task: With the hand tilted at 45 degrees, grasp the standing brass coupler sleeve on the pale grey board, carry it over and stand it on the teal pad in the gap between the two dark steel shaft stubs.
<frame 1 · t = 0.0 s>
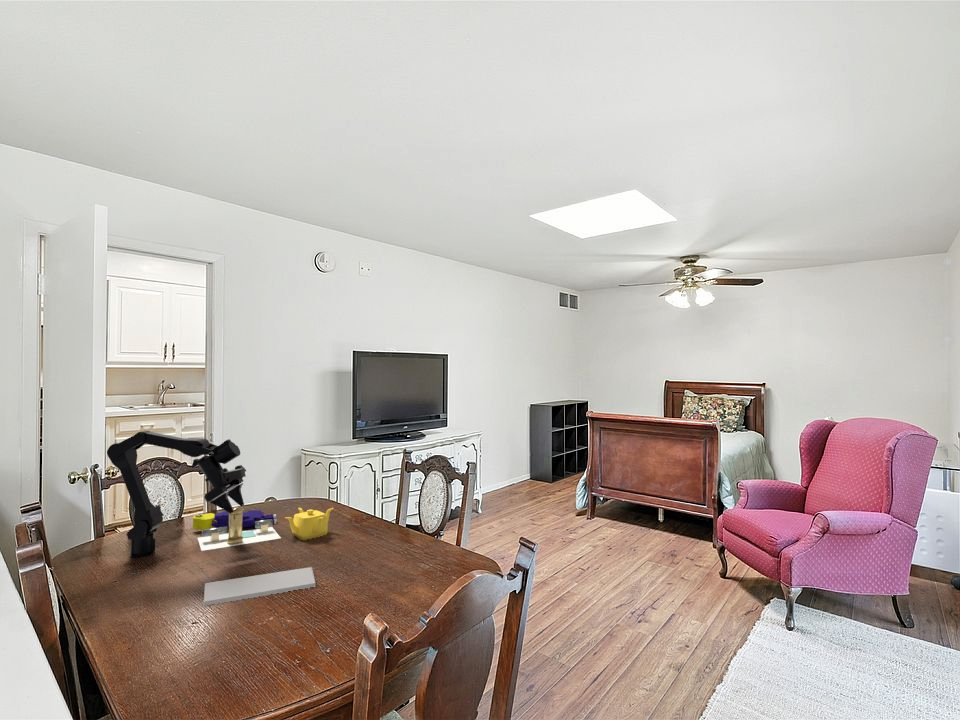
hand: (237, 509, 177), 15 cm above the table, tool tilted 35°, fingers open, 9 cm apart
shafts: (238, 539, 190), resting on board
toy: (235, 530, 202), on the table
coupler: (235, 541, 184), point 1 cm above the table, touching board
teapot: (309, 535, 197), on the table
grey flat slab: (260, 590, 149), on the table
board: (239, 541, 188), on the table
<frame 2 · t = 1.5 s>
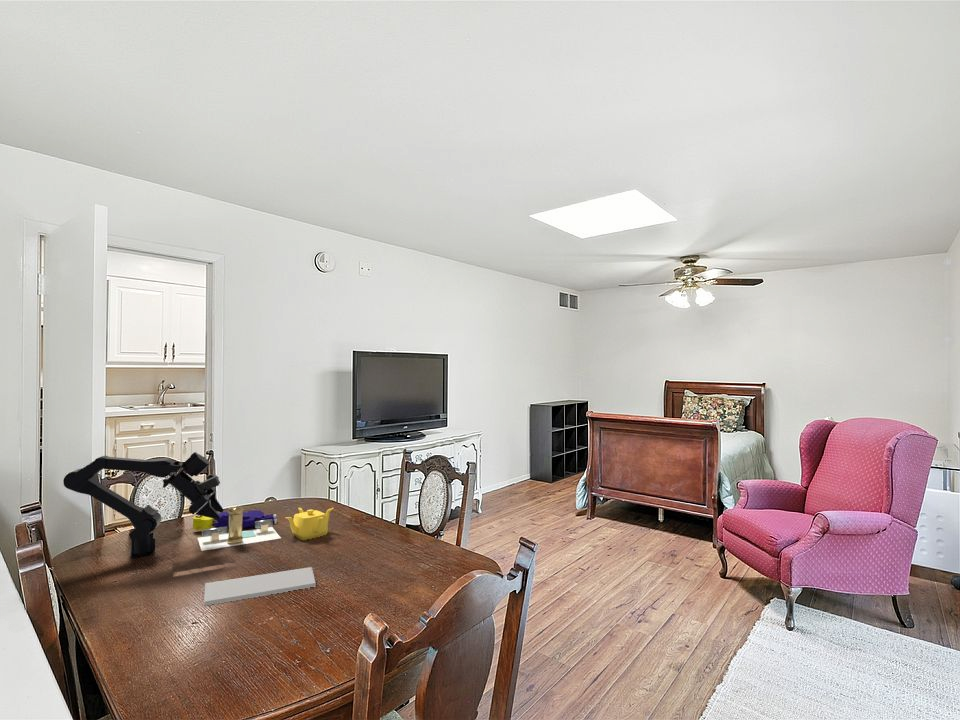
hand: (221, 514, 183), 11 cm above the table, tool tilted 45°, fingers open, 9 cm apart
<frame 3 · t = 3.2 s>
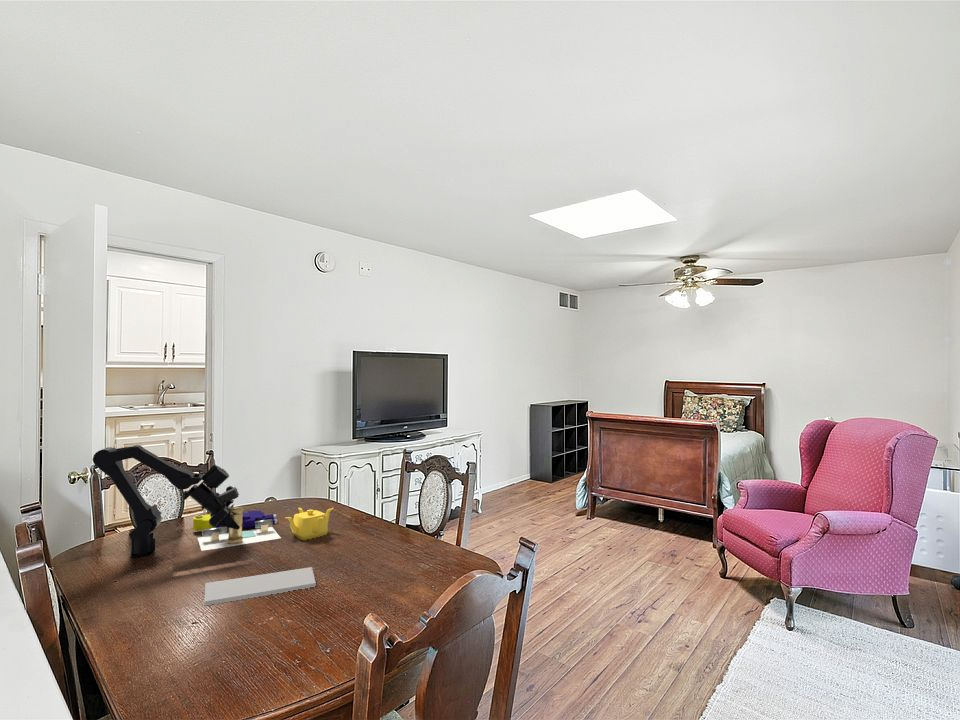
hand: (239, 526, 185), 7 cm above the table, tool tilted 45°, fingers closed on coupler, 4 cm apart
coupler: (235, 541, 184), point 1 cm above the table, touching board, gripper
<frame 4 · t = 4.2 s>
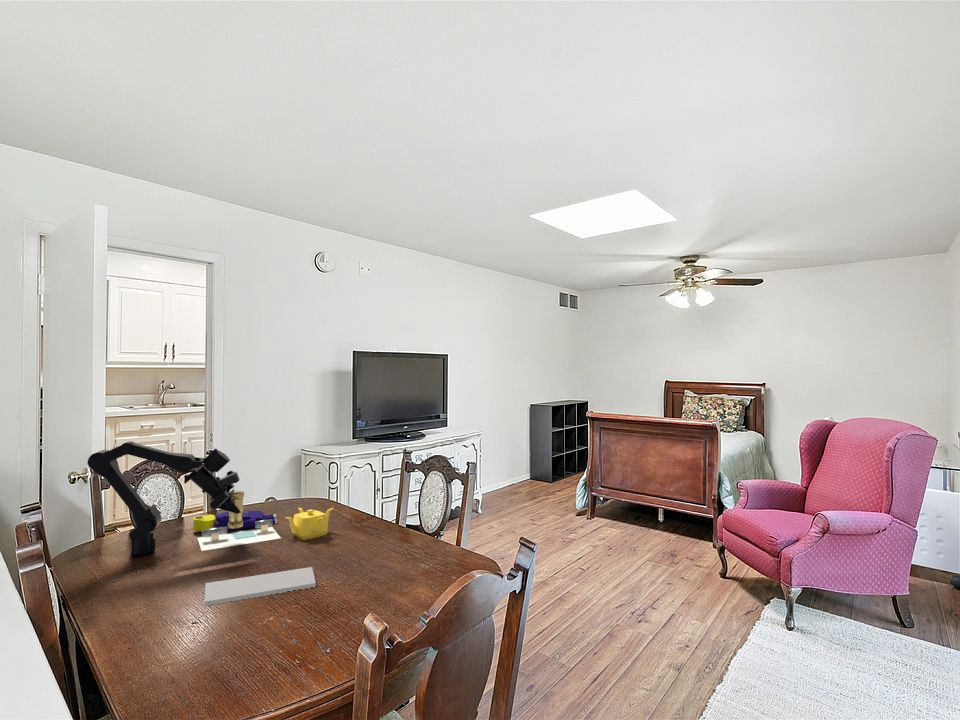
hand: (240, 510, 185), 12 cm above the table, tool tilted 45°, fingers closed on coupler, 4 cm apart
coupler: (235, 526, 184), point 7 cm above the table, touching gripper
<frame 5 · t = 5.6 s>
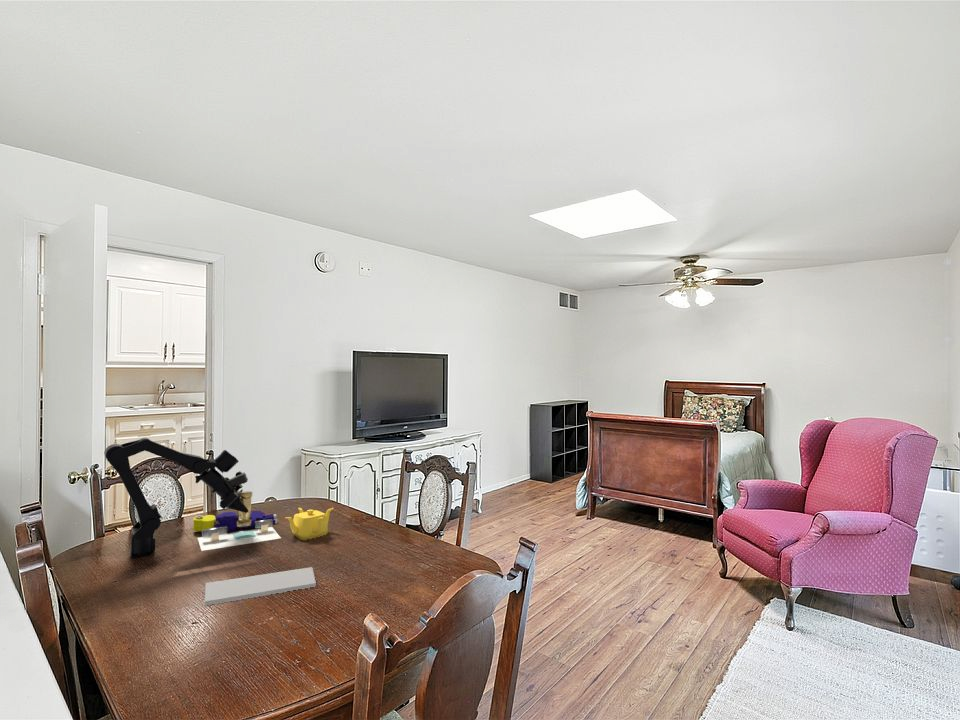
hand: (248, 510, 192), 10 cm above the table, tool tilted 45°, fingers closed on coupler, 4 cm apart
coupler: (243, 524, 192), point 5 cm above the table, touching gripper
when the fingers open (8 cm above the table, at t = 6.4 s): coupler stays where it is, resting on board.
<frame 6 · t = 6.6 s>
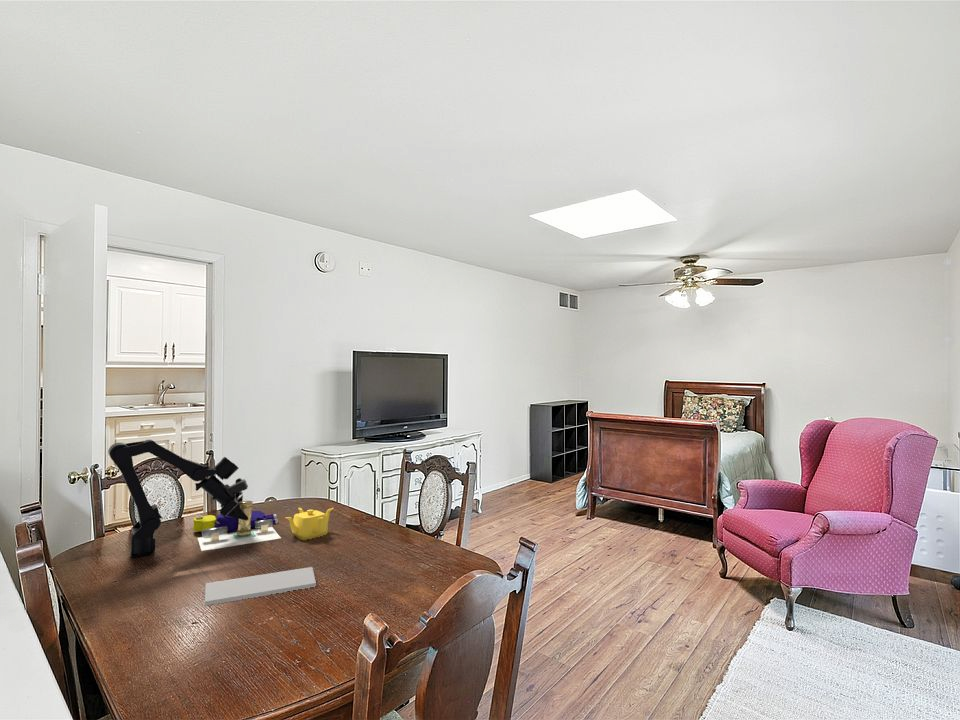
hand: (248, 517, 192), 8 cm above the table, tool tilted 45°, fingers open, 6 cm apart
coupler: (243, 534, 192), point 1 cm above the table, touching board
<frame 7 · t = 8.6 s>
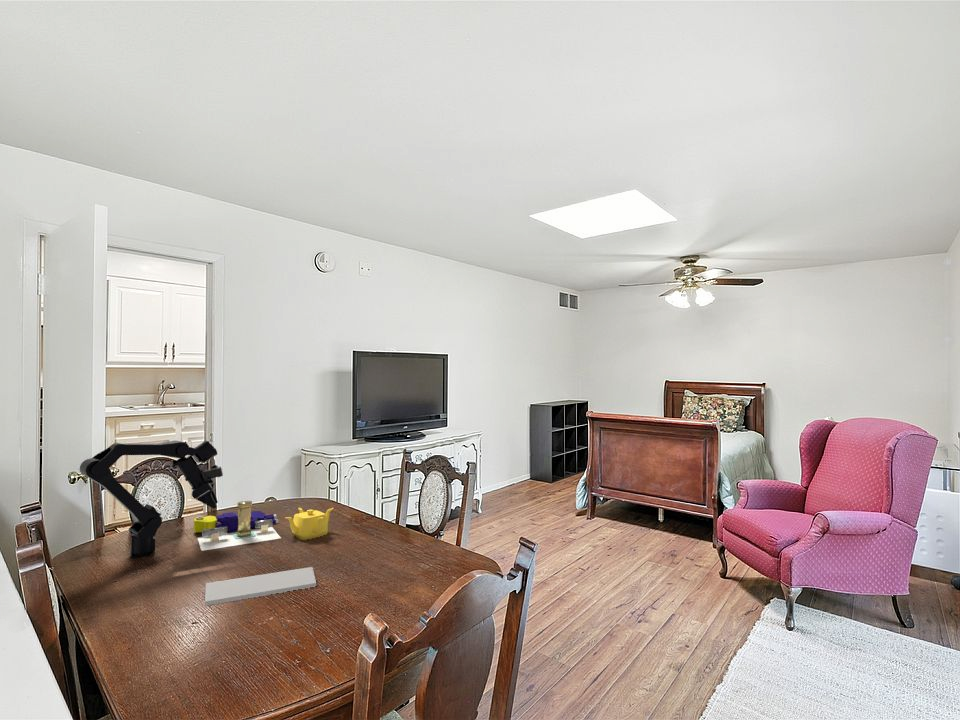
hand: (216, 505, 189), 13 cm above the table, tool tilted 30°, fingers open, 9 cm apart
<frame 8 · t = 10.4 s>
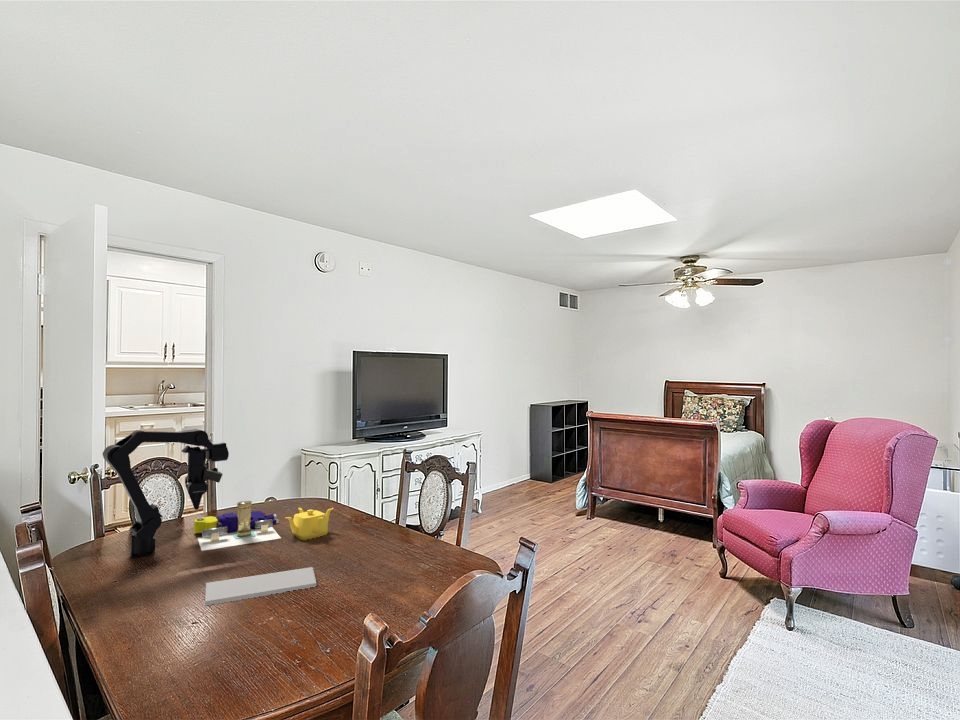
hand: (195, 506, 187), 13 cm above the table, tool pointing down, fingers open, 9 cm apart
at the end: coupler 0.1 cm from the target spot, point 1.4 cm above the table; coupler tilted 1°; the gripper is holding nothing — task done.
